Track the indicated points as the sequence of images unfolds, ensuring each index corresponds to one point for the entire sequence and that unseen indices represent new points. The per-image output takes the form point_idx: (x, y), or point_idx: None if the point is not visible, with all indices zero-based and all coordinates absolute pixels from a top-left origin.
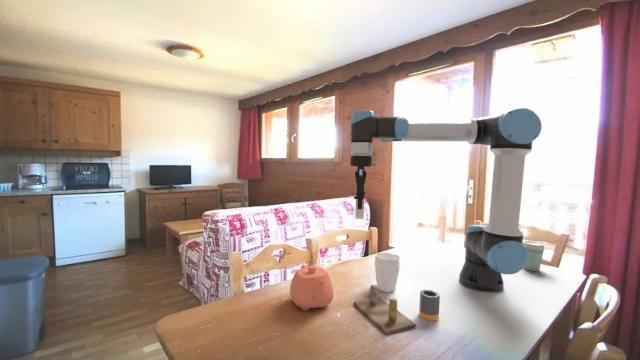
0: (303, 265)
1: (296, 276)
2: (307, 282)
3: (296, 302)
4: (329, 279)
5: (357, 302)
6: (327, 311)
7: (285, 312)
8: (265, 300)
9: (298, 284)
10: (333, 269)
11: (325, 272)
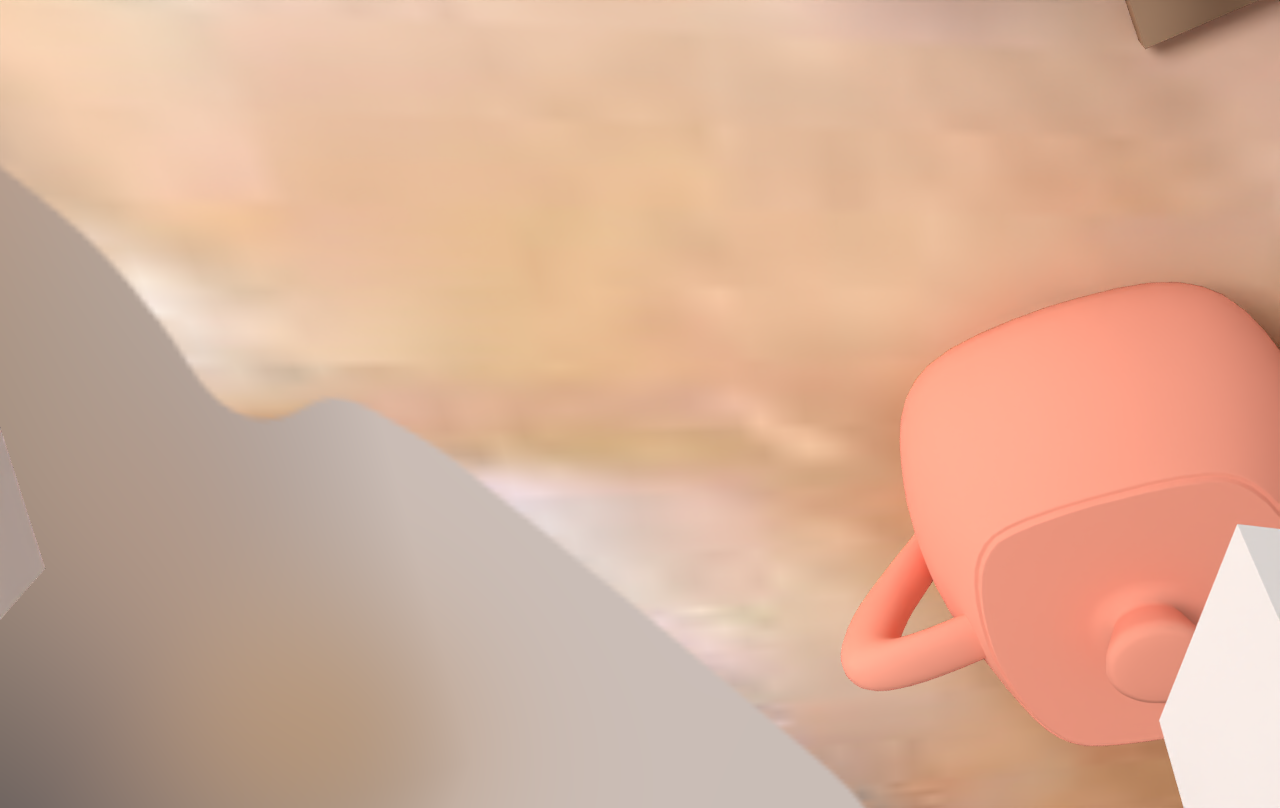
0: (890, 684)
1: None
2: None
3: None
4: (1239, 429)
5: (1175, 2)
6: (1264, 292)
7: None
8: (1023, 721)
9: None
10: (219, 228)
11: (1169, 500)
